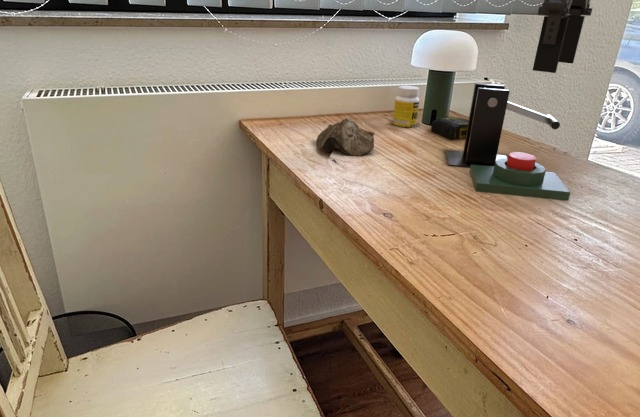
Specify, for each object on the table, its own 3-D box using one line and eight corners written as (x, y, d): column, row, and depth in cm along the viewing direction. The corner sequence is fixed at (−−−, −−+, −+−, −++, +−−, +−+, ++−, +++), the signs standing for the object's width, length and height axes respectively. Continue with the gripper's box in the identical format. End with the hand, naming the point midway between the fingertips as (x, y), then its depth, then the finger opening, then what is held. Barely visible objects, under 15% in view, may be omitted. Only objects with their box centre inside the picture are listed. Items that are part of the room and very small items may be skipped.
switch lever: (546, 126, 78) (554, 112, 77) (555, 134, 73) (563, 119, 72) (475, 99, 78) (482, 85, 77) (479, 106, 73) (486, 91, 72)
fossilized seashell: (386, 142, 81) (344, 137, 89) (371, 109, 77) (328, 108, 85) (360, 172, 78) (319, 165, 86) (343, 140, 75) (301, 136, 82)
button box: (551, 186, 73) (557, 160, 71) (566, 207, 66) (574, 179, 64) (468, 178, 74) (472, 152, 73) (474, 197, 67) (479, 170, 66)
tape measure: (428, 135, 96) (430, 116, 94) (457, 133, 98) (460, 115, 97) (448, 145, 90) (451, 125, 88) (479, 143, 92) (482, 123, 91)
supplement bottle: (413, 133, 96) (419, 90, 93) (389, 130, 98) (394, 87, 94) (417, 128, 101) (422, 86, 97) (394, 125, 102) (399, 84, 98)
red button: (530, 165, 70) (532, 153, 69) (536, 173, 67) (539, 161, 66) (504, 162, 70) (506, 150, 70) (508, 170, 67) (511, 158, 66)
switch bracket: (504, 162, 82) (520, 84, 77) (513, 178, 75) (532, 94, 70) (443, 156, 84) (455, 80, 79) (447, 171, 77) (460, 88, 71)
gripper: (578, -97, 71) (544, 56, 79) (542, -136, 51) (502, 72, 60) (638, -99, 67) (595, 61, 76) (623, -142, 48) (568, 80, 56)
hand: (554, 66), depth 68 cm, fingers open, 13 cm apart
